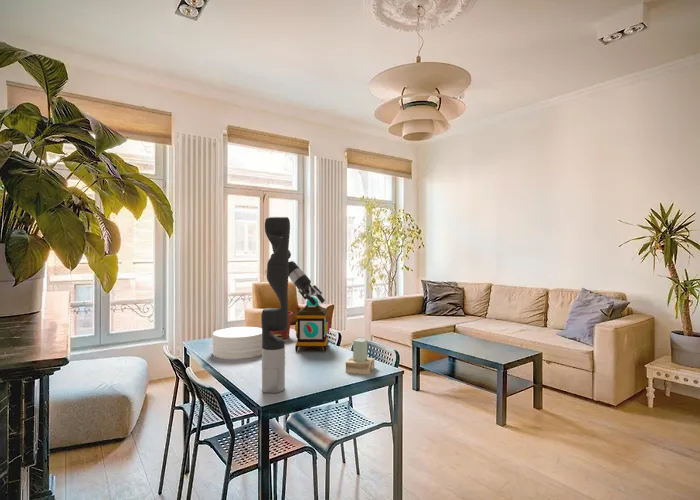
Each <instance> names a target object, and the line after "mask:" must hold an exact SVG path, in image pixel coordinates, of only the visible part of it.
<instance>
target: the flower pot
mask: <svg viewBox="0 0 700 500" xmlns="http://www.w3.org/2000/svg"><path fill="white" fill-rule="evenodd" d="M292 316H293V312H292V311H289V310H288V327H287V329H286V330H284V331H270V333H271V334H273V335H274V334H281V335H282V339H283V340H286V339H288V338H290V331H291V330H290V329H291V320H292Z"/></svg>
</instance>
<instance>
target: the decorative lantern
mask: <svg viewBox="0 0 700 500" xmlns="http://www.w3.org/2000/svg"><path fill="white" fill-rule="evenodd" d="M312 297H313V298H314V300H315V301H316V302H317V303H316V304H315V305H312V303H311V302H310V301H309V300H307V299H306V304H305V306H304V307H301V309H300V310H299V311H298V312H297V313H296V314H295V317H296V319H297V322H296V323H295V326H294V331H295V333H296V332H297V333H298V339H297V341H296V343H295V346H294V347H295V350H294V351H295V352H299V348H322V349H323V352H324V353H326V351H327V346H328V345H329V342H330V341H329V337H328V335H327V334H328V333H329V332H330V323H329V322H328V321H327V315H328V312H329V310H328V309H327V308H326V307H323V306H322V305H321V304H320V303H319V299H318V298H317V297H315V296H312Z"/></svg>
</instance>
